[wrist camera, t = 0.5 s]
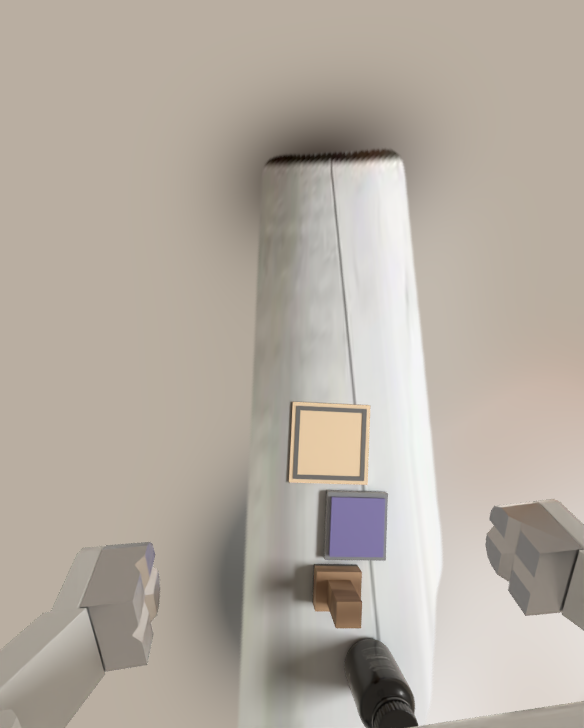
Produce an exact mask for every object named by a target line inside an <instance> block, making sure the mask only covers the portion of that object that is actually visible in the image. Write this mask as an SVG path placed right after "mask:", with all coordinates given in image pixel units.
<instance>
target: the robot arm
mask: <svg viewBox="0 0 584 728" xmlns="http://www.w3.org/2000/svg"><path fill="white" fill-rule="evenodd" d="M490 521H491V522H492V523H493V525H494V526H493V528H492V529H491V530H490V531H489V532H488V533H487V537H486V550H487V555H488V558H489V561H490V563H491V565H492V567H493V568H494V570H495V571H496V573H497V575H499V576H501V577H502V578H504V579H506V580H507V581H509V588H508V591H509V592H510V594H511V595H512V597H513V598H514V600H515V601H516V603H517V604H518V606H519V607H520V608H521V610H522V611H523V613H524V614H525V616H528V615H539V614H549V613H560V612H562V615H563V616H565V617H566V618H567V619H569V620H570V621H571V622H573V623H574V624H576V625H577V626H578V627H580V628H581V629H583V630H584V524H583V523H581V521H579V520H578V519H577V518H576V517H575V516H574V515H573V514H572V513H571V512H570V511H569V510H568V509H567V508H566V507H565V506H564V505H563V504H562V503H561V502H559V501H557V500H555V499H549V500H540V501H534V502H525V503H516V504H509V505H499V506H494V507H493V509H492V510H491V514H490ZM154 558H155V552H154V548H153V544H152V543H150V542H144V543H131V544H118V545H106V546H100V547H87V548H82V549H81V550H80V551H79V552H78V553H77V555H76V557H75V559H74V562H73V564H72V566H71V568H70V570H69V573H68V575H67V577H66V579H65V581H64V584H63V586H62V588H61V590H60V592H59V594H58V597H57V599H56V601H55V603H54V606H53V608H52V610H51V612H47V613H42V615H40V616H39V617H38V618H37V619H35V620H34V621H33V622H32V623H31V624H30V625H29V626H27V627H26V628H25V629H24V630H23V631H22V632H20V634H18V635H17V636H16V637H15V638H14V639H12V640H11V641H10V642H9V643H8V644H6V645H5V646H4V647H3V648H2V649H1V650H0V728H65V727H66V726H67V724H68V723H69V722H70V720H71V719H72V718H73V716H74V715H75V714H76V712H77V711H78V710H79V708H80V707H81V706H82V704H83V703H84V702H85V700H86V699H87V698H88V696H89V695H90V694H91V692H92V691H93V690H94V688H95V687H96V686H97V684H98V683H99V682H100V680H101V679H102V678H103V676H104V675H105V671H112V670H118V669H125V668H131V667H137V666H143V665H147V663H148V658H149V653H150V648H151V643H152V639H153V631H152V626H151V622H152V620H153V619H154V618H155V617H156V616H157V612H158V607H159V599H160V579H159V573H158V570H157V569H156V568H155V567H154V566H153V562H154ZM410 728H584V701H581V702H575V703H568V704H561V705H555V706H548V707H542V708H535V709H528V710H522V711H515V712H509V713H502V714H495V715H489V716H482V717H475V718H469V719H462V720H456V721H449V722H443V723H436V724H429V725H423V726H416V727H410Z"/></svg>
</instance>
